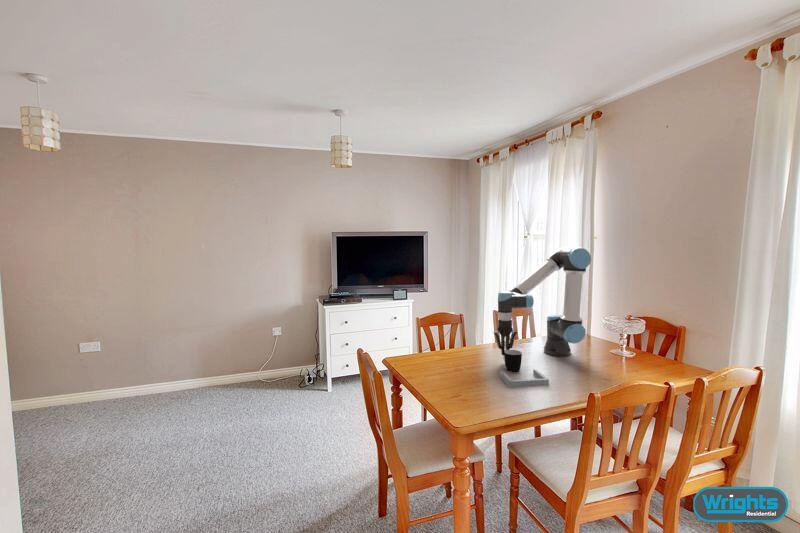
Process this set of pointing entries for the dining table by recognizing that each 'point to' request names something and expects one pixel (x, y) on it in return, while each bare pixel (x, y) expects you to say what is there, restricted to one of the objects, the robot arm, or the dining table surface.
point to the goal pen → (539, 381)
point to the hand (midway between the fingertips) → (505, 360)
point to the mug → (513, 360)
